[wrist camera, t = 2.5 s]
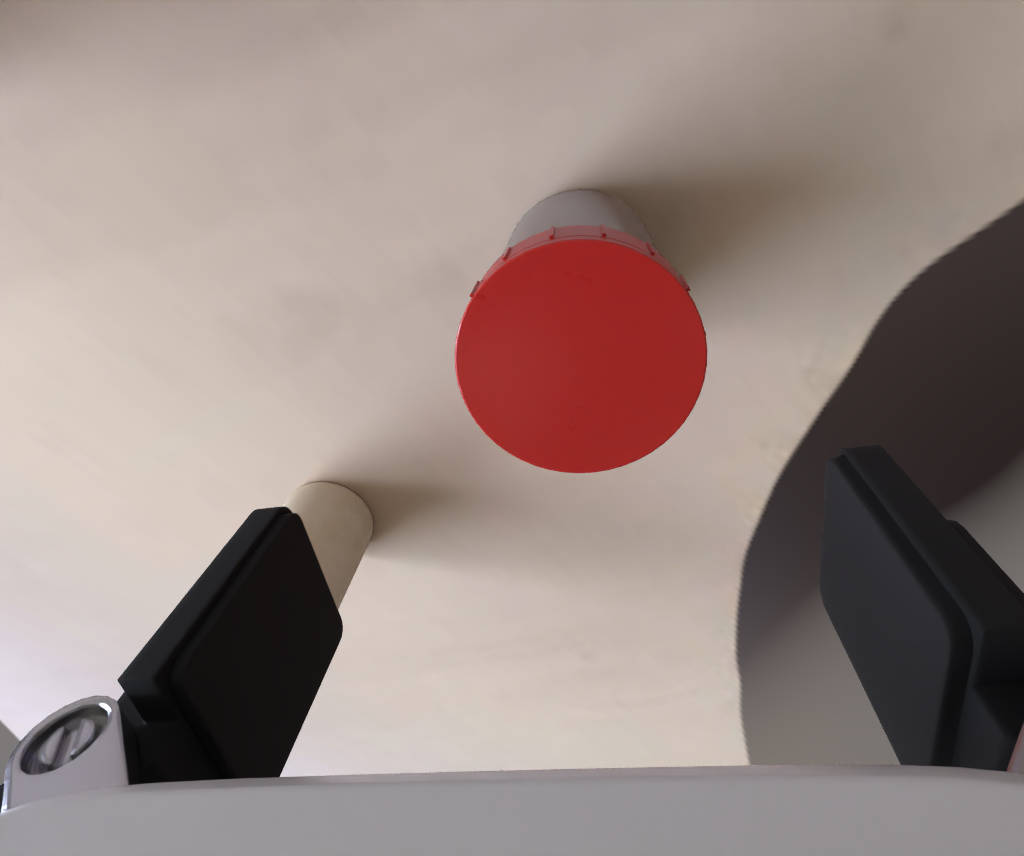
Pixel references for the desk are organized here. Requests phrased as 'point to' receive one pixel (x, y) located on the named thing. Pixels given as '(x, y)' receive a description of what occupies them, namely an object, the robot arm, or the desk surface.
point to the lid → (580, 350)
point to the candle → (334, 530)
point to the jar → (579, 215)
